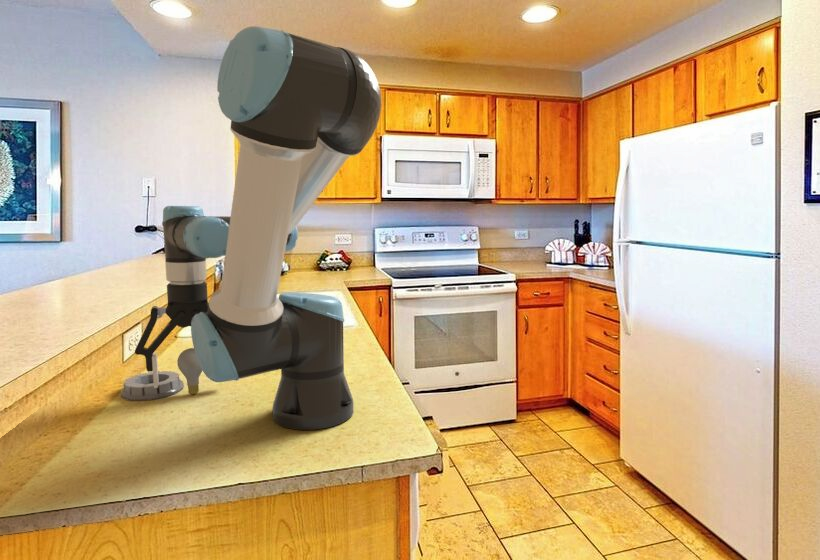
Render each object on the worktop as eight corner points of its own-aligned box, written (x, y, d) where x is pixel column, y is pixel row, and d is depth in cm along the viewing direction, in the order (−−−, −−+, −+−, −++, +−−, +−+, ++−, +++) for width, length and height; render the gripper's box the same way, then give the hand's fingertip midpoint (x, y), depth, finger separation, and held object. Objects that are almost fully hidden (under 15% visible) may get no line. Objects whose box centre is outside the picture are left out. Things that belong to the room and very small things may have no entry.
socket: (183, 395, 103) (182, 383, 103) (117, 404, 99) (116, 392, 98) (183, 378, 114) (183, 367, 114) (124, 385, 110) (123, 374, 109)
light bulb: (199, 388, 108) (197, 343, 107) (212, 393, 105) (210, 348, 103) (174, 395, 104) (171, 348, 103) (187, 401, 100) (184, 353, 99)
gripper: (248, 276, 110) (251, 369, 113) (119, 282, 99) (126, 383, 102) (252, 281, 103) (255, 379, 106) (114, 287, 93) (122, 396, 96)
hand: (192, 381), depth 104 cm, fingers open, 13 cm apart
